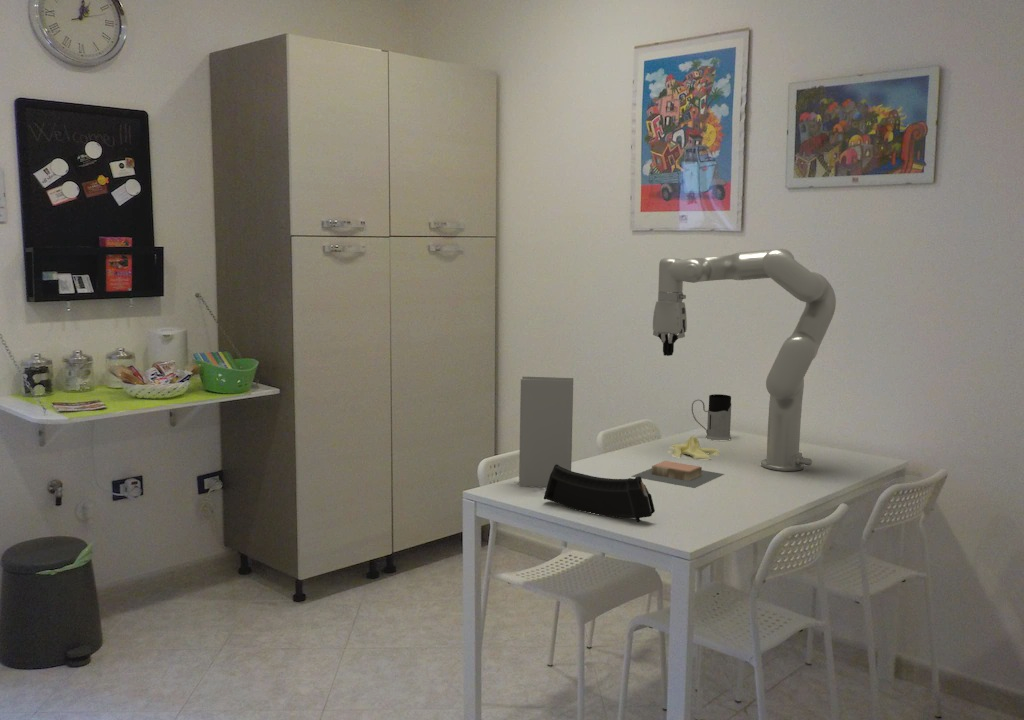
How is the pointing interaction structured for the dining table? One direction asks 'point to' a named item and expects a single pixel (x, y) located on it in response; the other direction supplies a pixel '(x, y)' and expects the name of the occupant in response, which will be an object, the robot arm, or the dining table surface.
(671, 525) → the dining table surface
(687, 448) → the cloth
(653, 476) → the mat
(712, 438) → the glass holder
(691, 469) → the tile
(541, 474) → the grey tall flat panel
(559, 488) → the magazine
